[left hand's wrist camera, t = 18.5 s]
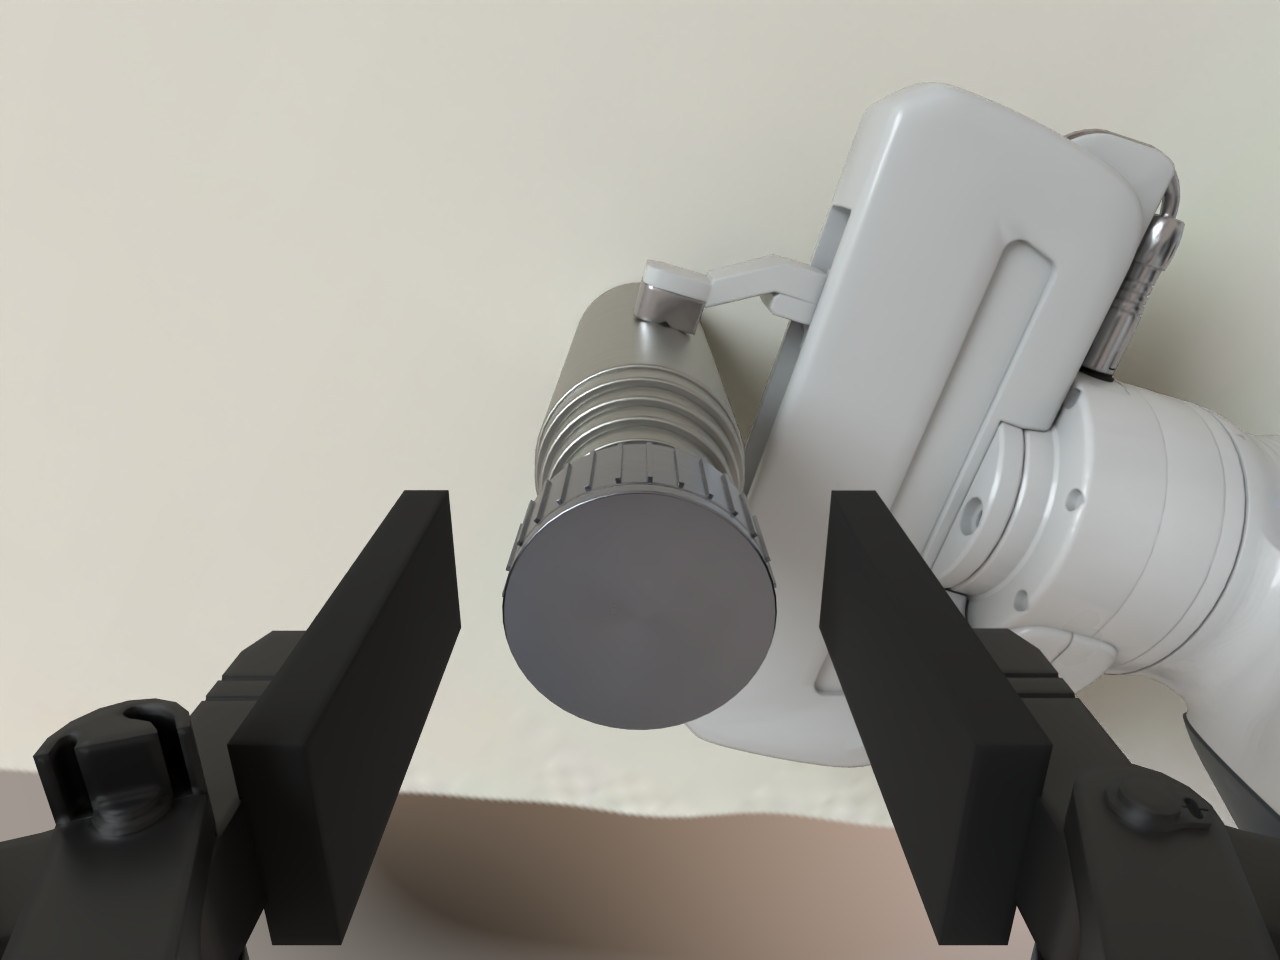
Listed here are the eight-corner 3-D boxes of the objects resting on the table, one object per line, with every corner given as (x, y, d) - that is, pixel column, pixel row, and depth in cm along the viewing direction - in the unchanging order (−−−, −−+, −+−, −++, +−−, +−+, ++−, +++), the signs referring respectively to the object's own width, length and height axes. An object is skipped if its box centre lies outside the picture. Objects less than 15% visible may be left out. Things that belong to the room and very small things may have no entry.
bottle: (617, 255, 29) (586, 401, 12) (731, 327, 30) (850, 558, 13) (550, 369, 31) (437, 642, 14) (660, 434, 32) (683, 766, 14)
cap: (529, 661, 16) (512, 737, 14) (506, 444, 14) (484, 493, 12) (759, 653, 16) (777, 728, 14) (763, 434, 14) (784, 482, 12)
